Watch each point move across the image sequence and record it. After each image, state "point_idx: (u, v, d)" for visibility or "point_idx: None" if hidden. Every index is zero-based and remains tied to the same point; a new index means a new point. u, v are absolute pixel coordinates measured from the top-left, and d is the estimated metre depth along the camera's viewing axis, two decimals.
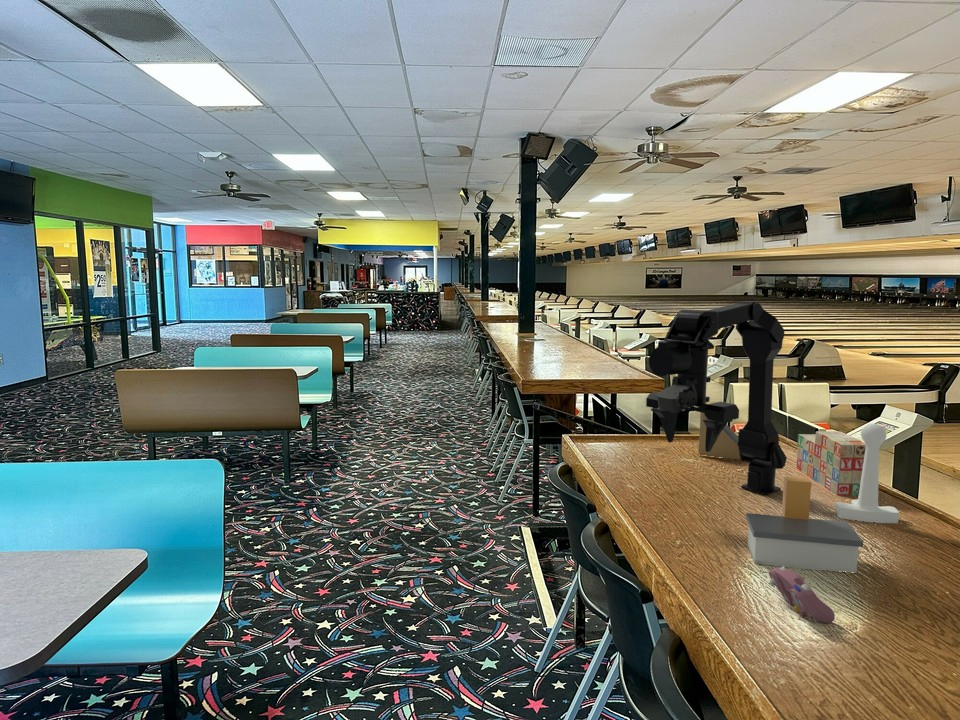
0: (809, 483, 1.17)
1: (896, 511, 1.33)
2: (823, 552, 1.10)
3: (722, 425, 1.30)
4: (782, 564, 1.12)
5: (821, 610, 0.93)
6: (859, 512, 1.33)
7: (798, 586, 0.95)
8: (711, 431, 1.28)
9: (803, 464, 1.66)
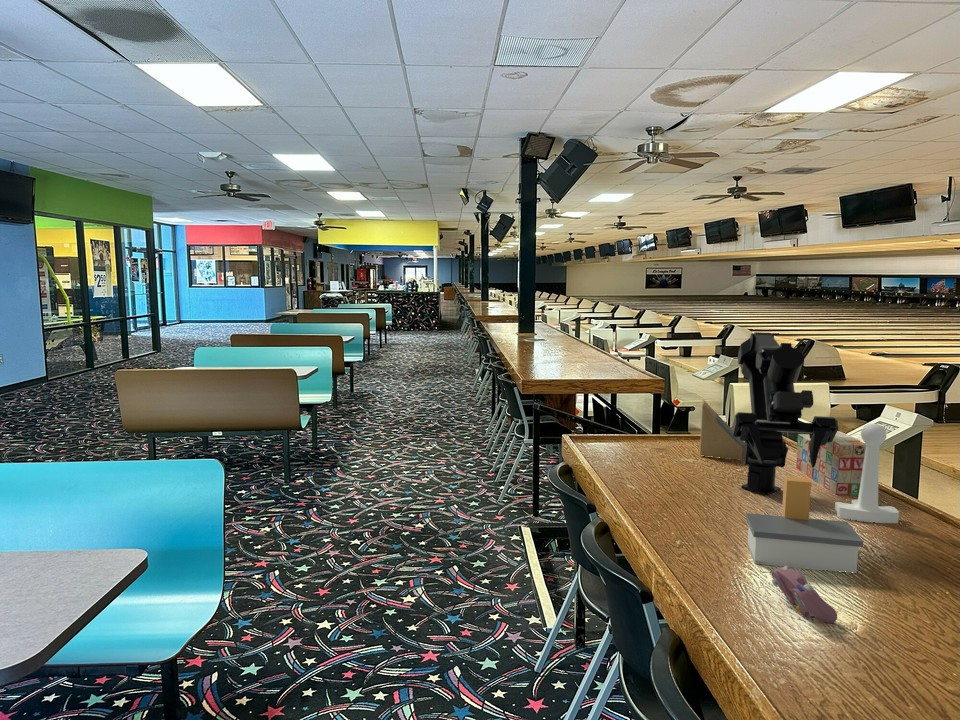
0: (809, 483, 1.17)
1: (896, 511, 1.33)
2: (823, 552, 1.10)
3: None
4: (782, 564, 1.12)
5: (824, 609, 0.93)
6: (859, 512, 1.33)
7: (801, 586, 0.95)
8: (820, 442, 1.26)
9: (803, 464, 1.66)
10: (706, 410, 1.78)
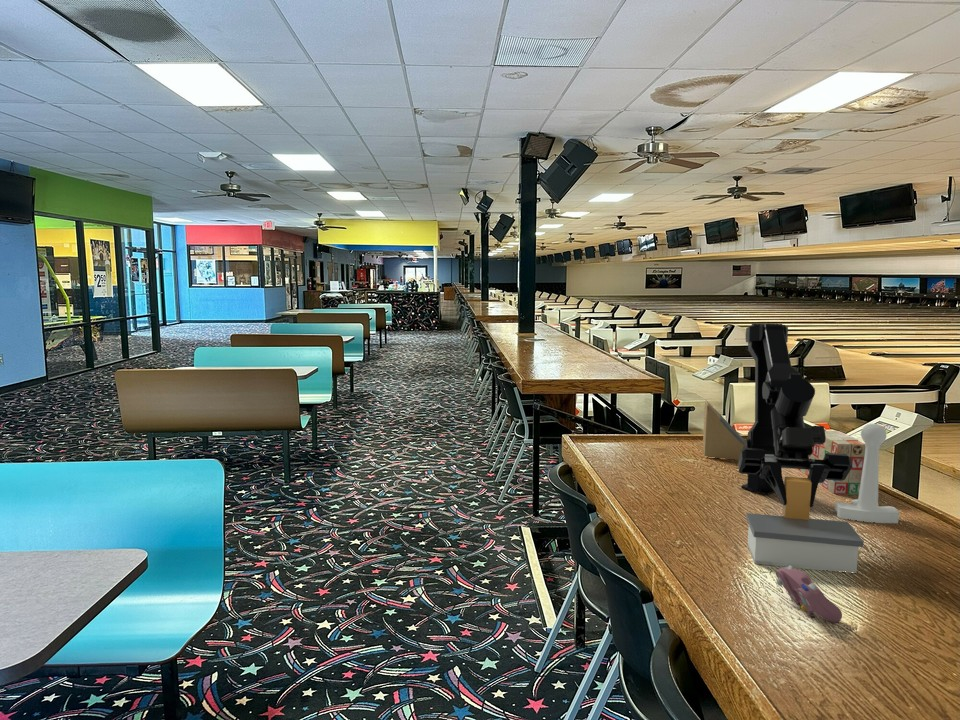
0: (809, 483, 1.17)
1: (896, 511, 1.33)
2: (823, 552, 1.10)
3: None
4: (782, 564, 1.12)
5: (829, 609, 0.93)
6: (859, 512, 1.33)
7: (805, 585, 0.95)
8: (818, 480, 1.19)
9: None
10: (710, 411, 1.77)
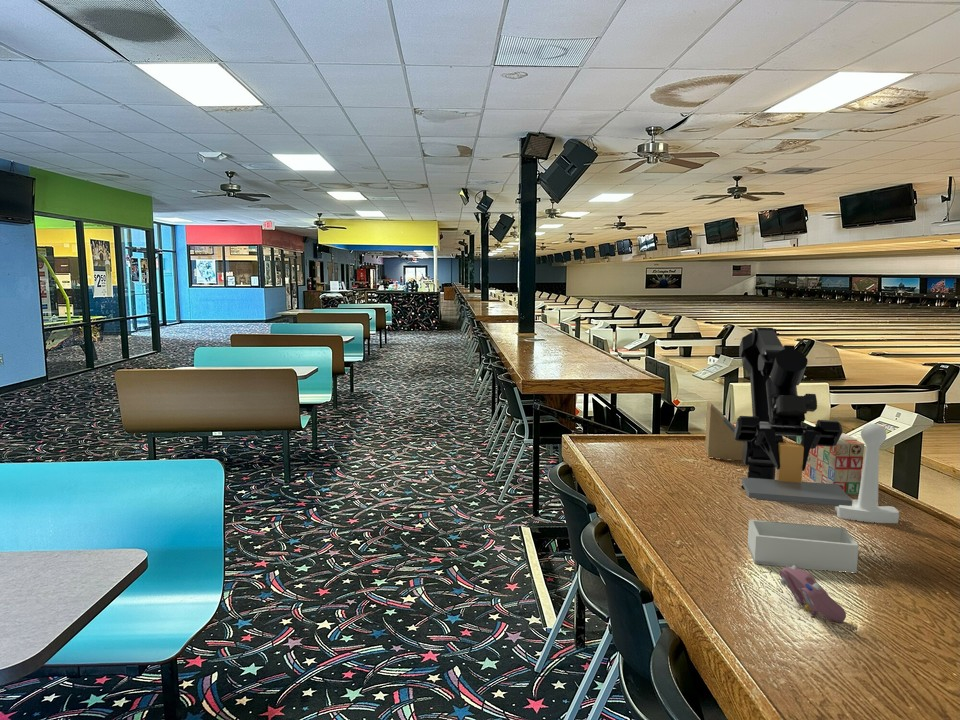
0: (802, 448, 1.23)
1: (896, 511, 1.33)
2: (823, 552, 1.10)
3: None
4: (782, 564, 1.12)
5: (833, 608, 0.94)
6: (859, 512, 1.33)
7: (809, 585, 0.95)
8: (810, 445, 1.25)
9: None
10: (714, 411, 1.77)
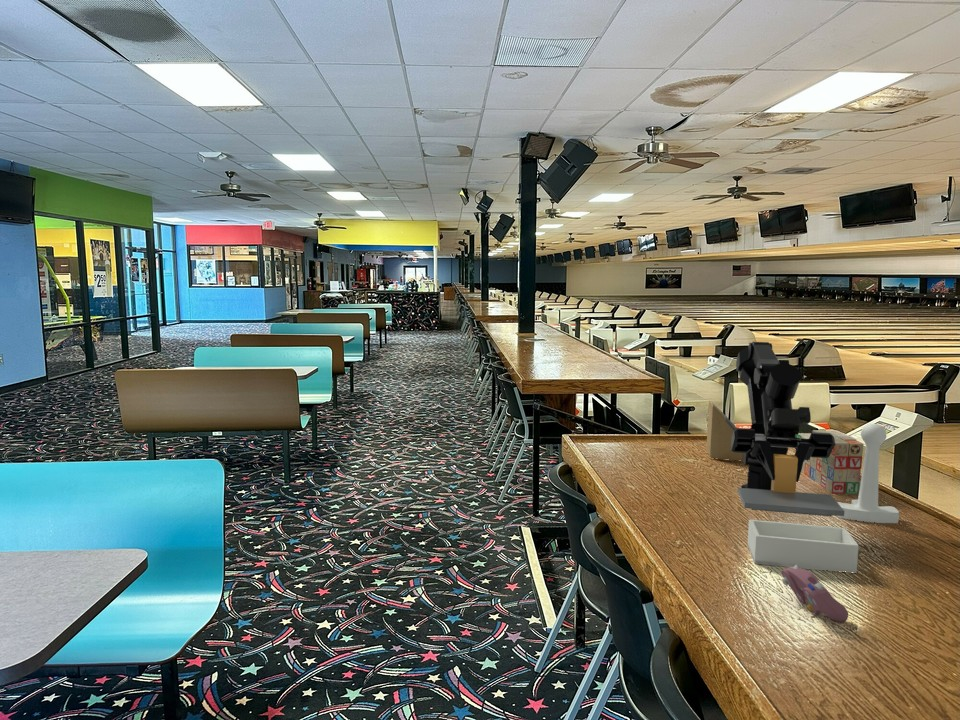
0: (796, 459, 1.27)
1: (896, 511, 1.33)
2: (823, 552, 1.10)
3: None
4: (782, 564, 1.12)
5: (835, 608, 0.94)
6: (859, 512, 1.33)
7: (812, 585, 0.95)
8: (804, 457, 1.29)
9: None
10: (716, 411, 1.76)
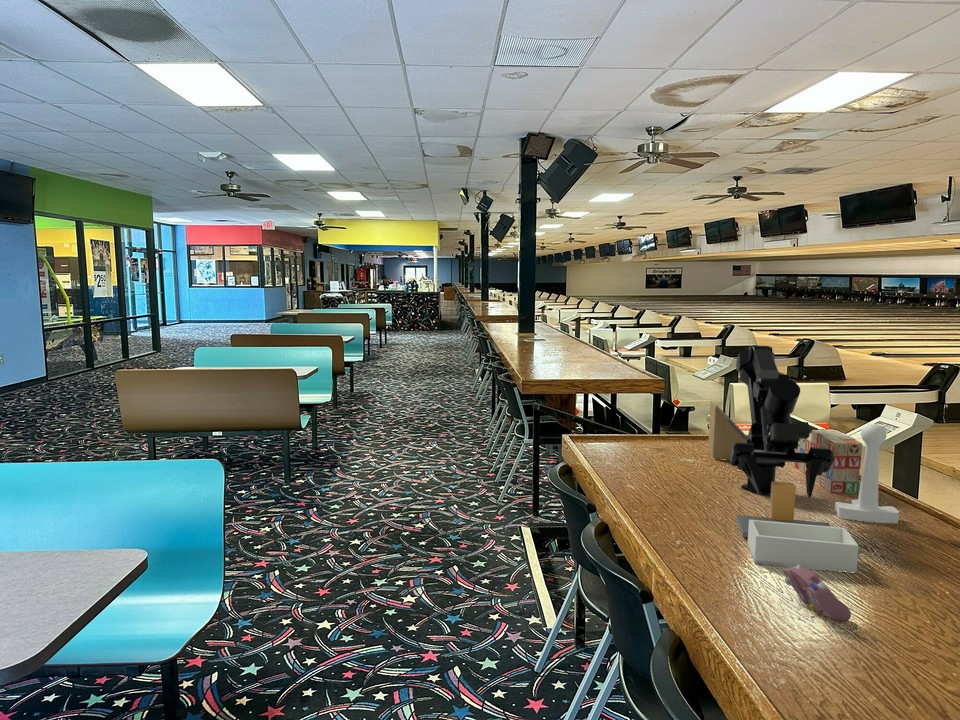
0: (794, 487, 1.28)
1: (896, 511, 1.33)
2: (823, 552, 1.10)
3: None
4: (782, 564, 1.12)
5: (838, 608, 0.94)
6: (859, 512, 1.33)
7: (814, 585, 0.95)
8: (816, 473, 1.29)
9: None
10: (719, 412, 1.76)
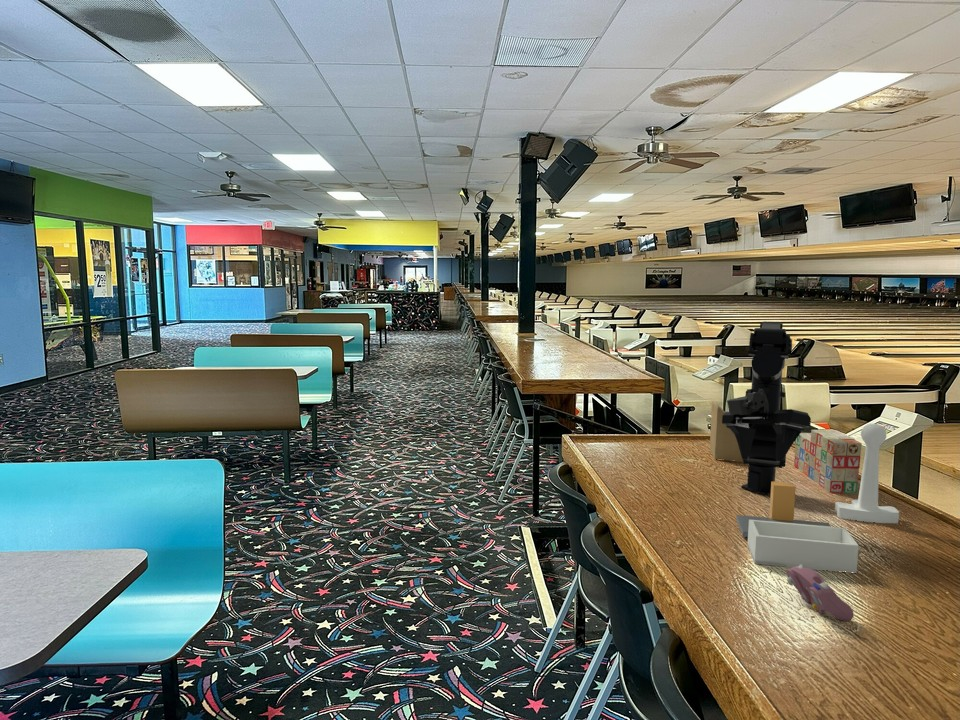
0: (794, 487, 1.28)
1: (896, 511, 1.33)
2: (823, 552, 1.10)
3: (794, 435, 1.30)
4: (782, 564, 1.12)
5: (841, 608, 0.94)
6: (859, 512, 1.33)
7: (817, 584, 0.95)
8: (781, 437, 1.29)
9: (800, 462, 1.68)
10: (721, 412, 1.75)
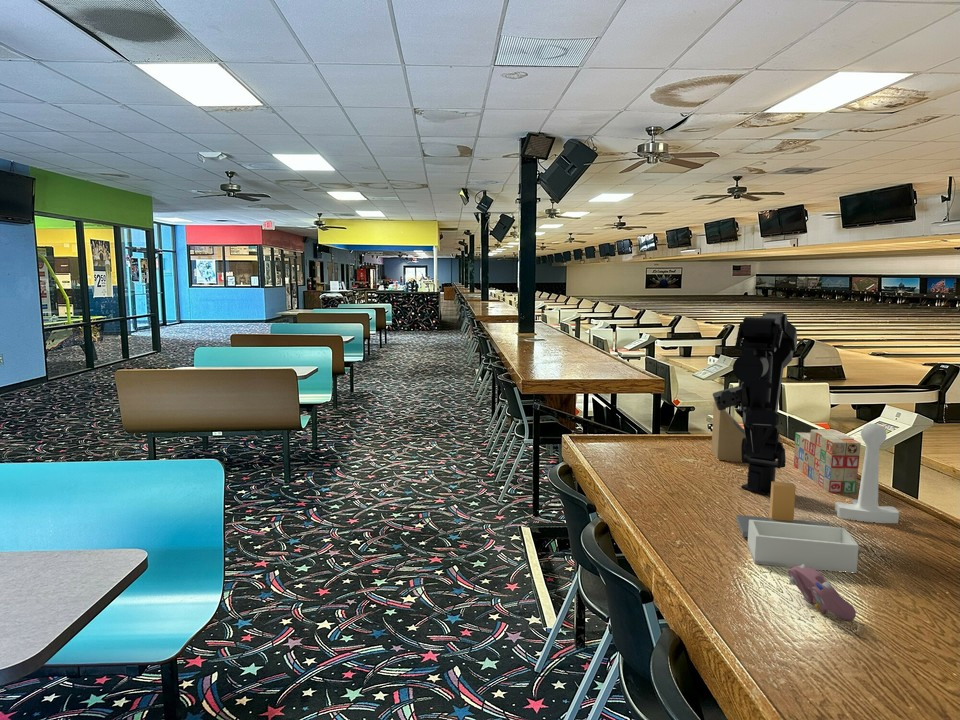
0: (794, 487, 1.28)
1: (896, 511, 1.33)
2: (823, 552, 1.10)
3: (768, 430, 1.32)
4: (782, 564, 1.12)
5: (843, 607, 0.94)
6: (859, 512, 1.33)
7: (819, 584, 0.95)
8: (751, 433, 1.34)
9: (799, 462, 1.68)
10: (724, 413, 1.75)
